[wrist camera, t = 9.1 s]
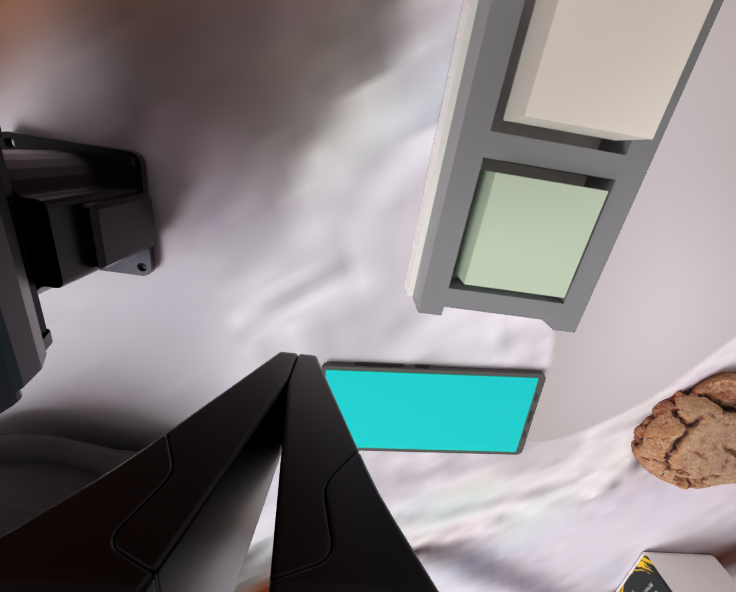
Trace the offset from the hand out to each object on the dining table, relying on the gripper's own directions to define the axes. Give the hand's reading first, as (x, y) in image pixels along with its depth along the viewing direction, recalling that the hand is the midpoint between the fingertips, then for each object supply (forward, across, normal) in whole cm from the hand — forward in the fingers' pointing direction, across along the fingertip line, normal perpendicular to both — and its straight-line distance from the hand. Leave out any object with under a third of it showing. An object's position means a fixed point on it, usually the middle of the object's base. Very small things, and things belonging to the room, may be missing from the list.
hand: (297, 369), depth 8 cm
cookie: (+13, -29, +10) cm, 33 cm away
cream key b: (+9, -9, -9) cm, 16 cm away
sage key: (+10, -9, -3) cm, 14 cm away
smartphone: (+13, -8, +11) cm, 19 cm away
